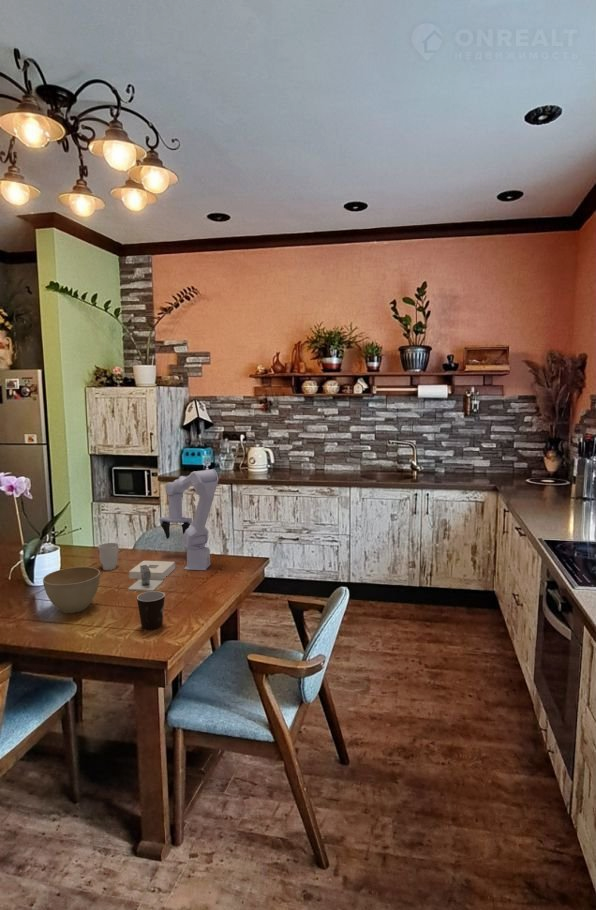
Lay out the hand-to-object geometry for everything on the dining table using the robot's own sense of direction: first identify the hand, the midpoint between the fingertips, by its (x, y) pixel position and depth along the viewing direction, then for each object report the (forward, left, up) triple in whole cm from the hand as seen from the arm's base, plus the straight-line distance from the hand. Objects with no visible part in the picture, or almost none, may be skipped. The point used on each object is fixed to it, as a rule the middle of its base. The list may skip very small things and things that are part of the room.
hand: (176, 538), depth 241 cm
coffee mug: (-16, +69, -10) cm, 71 cm away
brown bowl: (+16, +58, -10) cm, 61 cm away
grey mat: (0, +34, -9) cm, 35 cm away
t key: (0, +34, -9) cm, 35 cm away
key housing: (+3, +20, -9) cm, 22 cm away
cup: (+24, +16, -10) cm, 30 cm away
